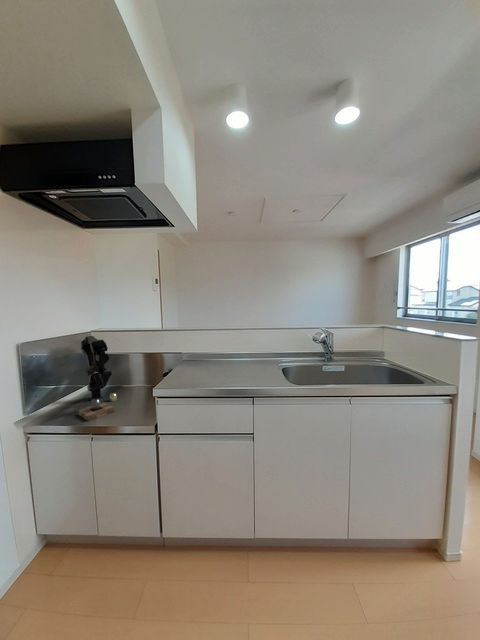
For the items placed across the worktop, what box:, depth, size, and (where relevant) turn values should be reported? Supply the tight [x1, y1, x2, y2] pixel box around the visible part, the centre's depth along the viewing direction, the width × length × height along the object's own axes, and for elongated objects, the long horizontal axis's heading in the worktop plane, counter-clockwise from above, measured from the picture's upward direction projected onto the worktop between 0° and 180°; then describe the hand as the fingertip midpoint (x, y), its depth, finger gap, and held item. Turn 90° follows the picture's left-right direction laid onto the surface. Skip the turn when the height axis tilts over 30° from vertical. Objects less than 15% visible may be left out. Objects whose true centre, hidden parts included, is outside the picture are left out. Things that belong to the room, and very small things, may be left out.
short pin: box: [109, 392, 118, 402], centre depth 168 cm, size 4×4×4 cm
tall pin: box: [91, 398, 101, 412], centre depth 149 cm, size 4×4×8 cm
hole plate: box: [77, 401, 115, 422], centre depth 150 cm, size 14×14×2 cm
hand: (101, 385), depth 161 cm, fingers open, 9 cm apart
